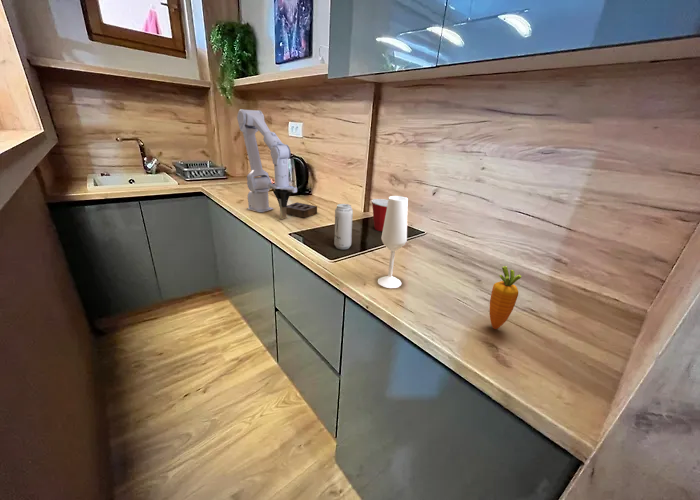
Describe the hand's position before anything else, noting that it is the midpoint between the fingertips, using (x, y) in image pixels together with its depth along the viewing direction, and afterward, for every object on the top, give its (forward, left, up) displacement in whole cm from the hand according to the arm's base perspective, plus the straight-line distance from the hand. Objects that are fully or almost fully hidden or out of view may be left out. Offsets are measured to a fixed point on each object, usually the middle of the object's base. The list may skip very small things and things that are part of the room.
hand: (283, 206), depth 133 cm
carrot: (+90, -35, -6) cm, 97 cm away
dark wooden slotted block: (+1, +11, -6) cm, 12 cm away
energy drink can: (+38, -13, -6) cm, 41 cm away
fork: (0, 0, -5) cm, 5 cm away
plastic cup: (+42, +13, -6) cm, 44 cm away
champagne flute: (+62, -28, -6) cm, 68 cm away
